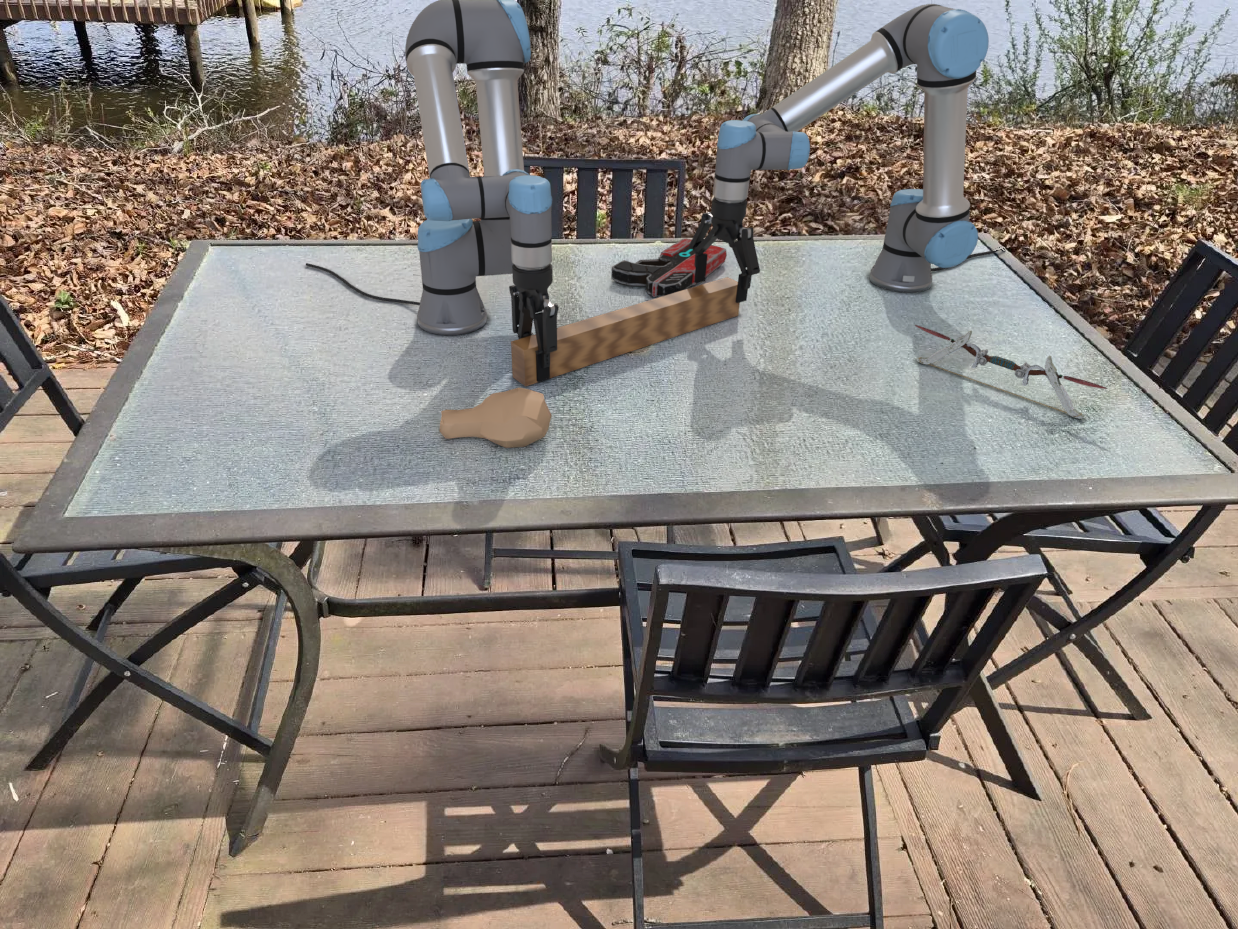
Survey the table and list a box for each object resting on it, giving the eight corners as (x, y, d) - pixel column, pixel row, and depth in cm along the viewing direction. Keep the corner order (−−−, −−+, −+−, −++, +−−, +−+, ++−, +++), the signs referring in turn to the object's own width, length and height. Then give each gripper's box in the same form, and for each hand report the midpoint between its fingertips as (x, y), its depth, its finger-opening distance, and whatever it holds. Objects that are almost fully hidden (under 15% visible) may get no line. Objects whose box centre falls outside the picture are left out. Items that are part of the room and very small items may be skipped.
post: (525, 386, 173) (524, 350, 168) (512, 377, 176) (510, 341, 172) (738, 315, 204) (741, 283, 199) (724, 308, 207) (727, 276, 202)
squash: (553, 454, 153) (544, 415, 147) (441, 463, 154) (428, 425, 148) (556, 414, 161) (548, 375, 154) (450, 422, 162) (438, 384, 156)
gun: (605, 267, 214) (675, 286, 206) (666, 230, 236) (731, 246, 228) (605, 285, 217) (674, 304, 209) (664, 246, 239) (729, 263, 231)
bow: (1096, 421, 167) (1113, 374, 161) (1092, 425, 165) (1110, 378, 160) (909, 355, 188) (919, 312, 182) (905, 358, 187) (915, 315, 181)
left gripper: (576, 273, 159) (576, 386, 172) (523, 245, 171) (526, 353, 184) (542, 282, 156) (545, 397, 168) (489, 253, 167) (496, 362, 180)
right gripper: (784, 210, 182) (771, 306, 194) (703, 181, 198) (695, 270, 210) (759, 216, 178) (747, 313, 190) (678, 185, 194) (671, 277, 206)
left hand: (535, 374), depth 176 cm, fingers closed on post, 5 cm apart
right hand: (719, 291), depth 200 cm, fingers open, 13 cm apart
